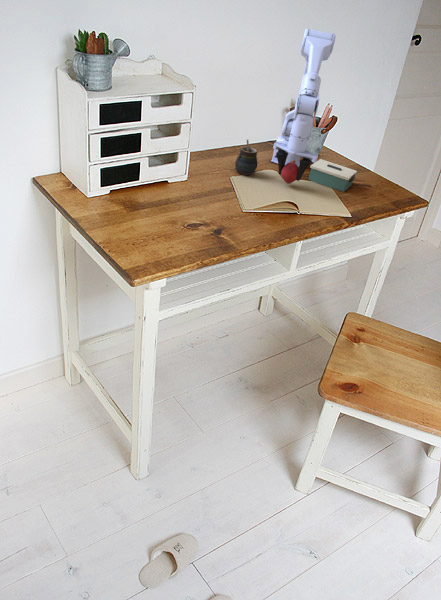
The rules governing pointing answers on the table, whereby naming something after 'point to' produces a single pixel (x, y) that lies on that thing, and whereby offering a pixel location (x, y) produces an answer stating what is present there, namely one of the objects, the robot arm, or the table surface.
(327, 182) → the lunchbox
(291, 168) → the onion
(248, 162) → the mate gourd
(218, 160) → the table surface
